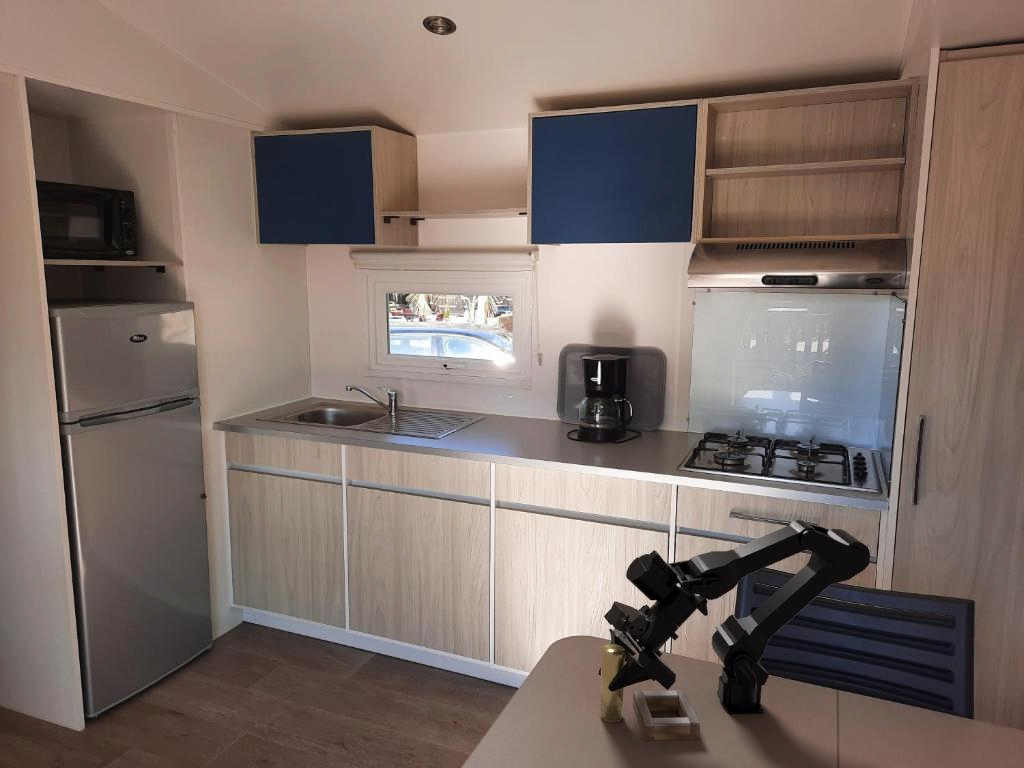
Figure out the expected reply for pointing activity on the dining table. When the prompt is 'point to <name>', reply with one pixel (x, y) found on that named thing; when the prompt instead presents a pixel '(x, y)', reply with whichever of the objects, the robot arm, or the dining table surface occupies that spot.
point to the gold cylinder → (609, 669)
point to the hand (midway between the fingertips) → (604, 682)
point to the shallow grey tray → (665, 727)
